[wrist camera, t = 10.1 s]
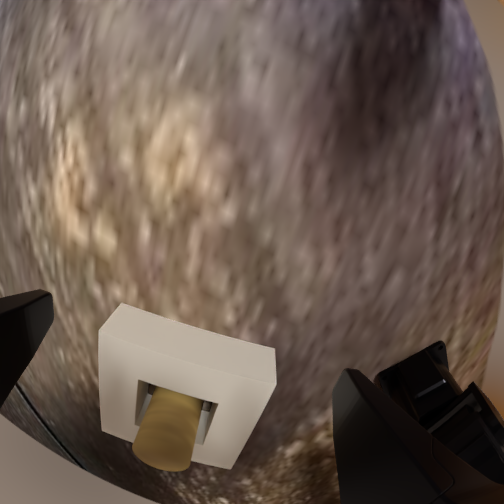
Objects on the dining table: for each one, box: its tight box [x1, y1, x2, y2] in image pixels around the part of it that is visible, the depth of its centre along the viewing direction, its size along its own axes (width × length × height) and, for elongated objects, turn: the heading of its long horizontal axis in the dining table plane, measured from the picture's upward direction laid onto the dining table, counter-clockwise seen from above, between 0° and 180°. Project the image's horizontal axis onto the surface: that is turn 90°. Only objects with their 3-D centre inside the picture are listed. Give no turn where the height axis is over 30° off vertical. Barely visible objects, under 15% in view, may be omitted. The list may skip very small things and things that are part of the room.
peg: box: [132, 386, 204, 471], centre depth 20 cm, size 4×4×8 cm
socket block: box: [98, 303, 277, 469], centre depth 22 cm, size 12×12×4 cm
